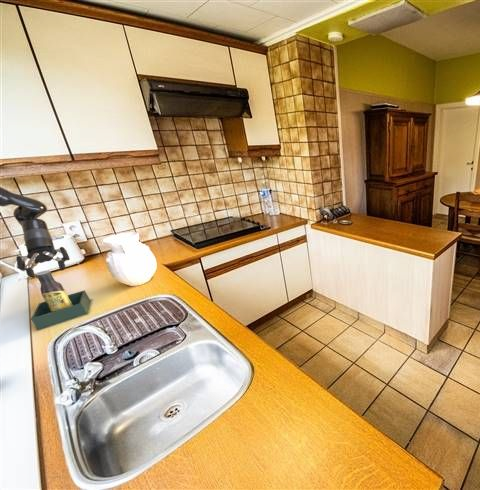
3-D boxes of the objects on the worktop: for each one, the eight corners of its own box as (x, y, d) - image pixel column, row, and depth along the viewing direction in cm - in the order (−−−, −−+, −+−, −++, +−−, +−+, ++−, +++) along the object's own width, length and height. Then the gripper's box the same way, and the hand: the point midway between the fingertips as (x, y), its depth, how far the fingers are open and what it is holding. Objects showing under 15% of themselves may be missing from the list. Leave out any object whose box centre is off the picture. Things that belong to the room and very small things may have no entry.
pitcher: (165, 279, 138) (147, 235, 128) (120, 295, 126) (95, 247, 116) (157, 268, 150) (140, 227, 140) (115, 282, 138) (93, 238, 128)
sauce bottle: (51, 319, 110) (24, 278, 102) (59, 311, 115) (33, 271, 107) (72, 314, 113) (47, 274, 105) (79, 306, 118) (55, 267, 110)
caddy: (38, 329, 105) (30, 319, 103) (45, 313, 115) (38, 303, 113) (87, 313, 113) (81, 303, 111) (90, 300, 123) (84, 290, 121)
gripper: (8, 242, 108) (16, 276, 105) (58, 232, 116) (67, 264, 113) (19, 250, 114) (27, 282, 111) (66, 240, 122) (75, 270, 119)
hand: (47, 273), depth 112 cm, fingers open, 8 cm apart
